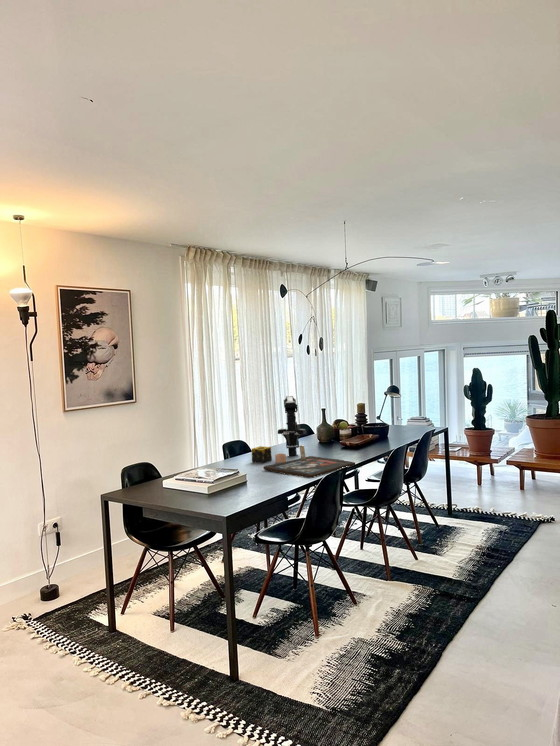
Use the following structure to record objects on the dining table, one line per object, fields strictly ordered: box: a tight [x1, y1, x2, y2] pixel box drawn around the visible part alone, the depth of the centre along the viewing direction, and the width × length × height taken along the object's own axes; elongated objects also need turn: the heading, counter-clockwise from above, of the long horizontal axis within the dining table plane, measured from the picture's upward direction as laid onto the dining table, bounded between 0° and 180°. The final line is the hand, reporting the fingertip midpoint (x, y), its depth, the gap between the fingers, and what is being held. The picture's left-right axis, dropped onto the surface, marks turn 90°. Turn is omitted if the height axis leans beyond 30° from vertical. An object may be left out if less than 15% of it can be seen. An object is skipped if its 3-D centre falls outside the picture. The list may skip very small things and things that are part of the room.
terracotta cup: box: [274, 453, 287, 464], centre depth 372 cm, size 7×7×6 cm
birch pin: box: [299, 444, 307, 462], centre depth 359 cm, size 3×3×10 cm
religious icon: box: [263, 455, 356, 478], centre depth 350 cm, size 40×45×3 cm
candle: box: [251, 445, 273, 464], centre depth 378 cm, size 10×10×10 cm
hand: (292, 444), depth 364 cm, fingers open, 5 cm apart
